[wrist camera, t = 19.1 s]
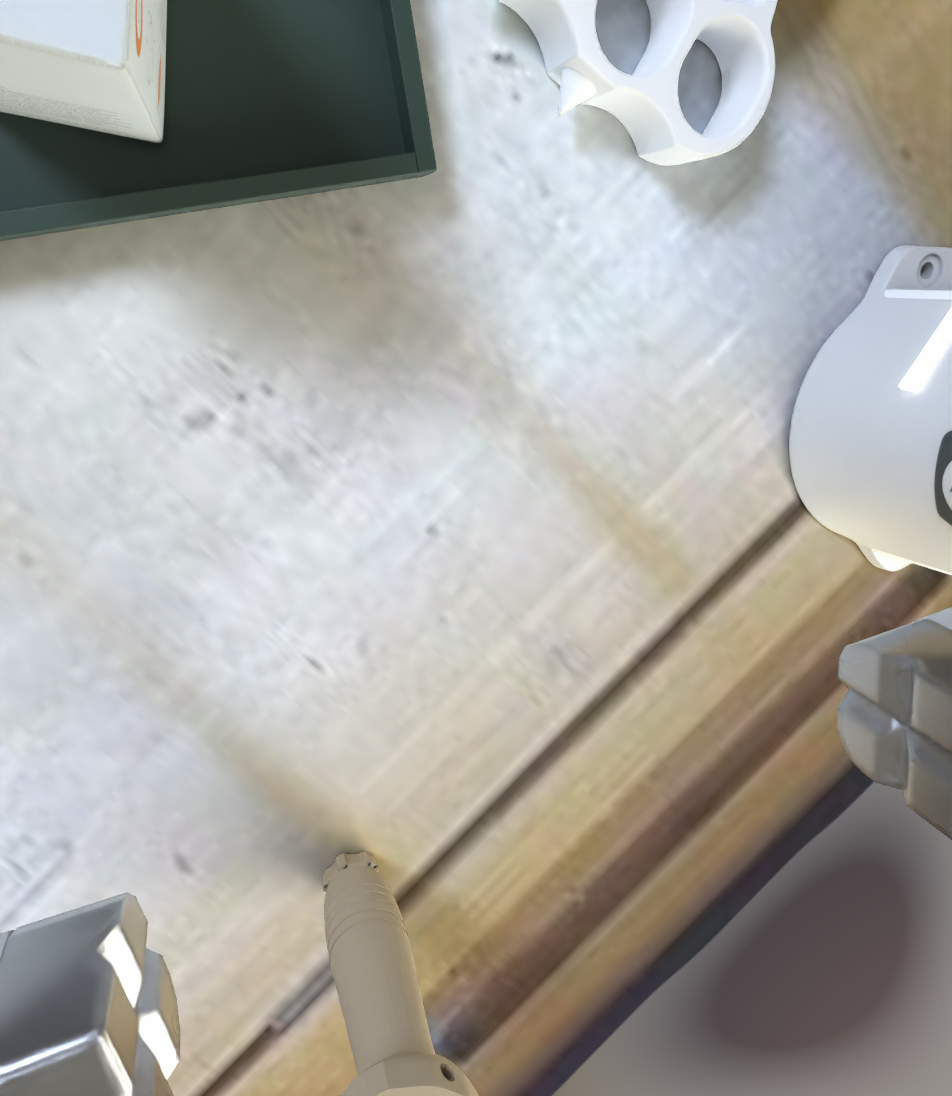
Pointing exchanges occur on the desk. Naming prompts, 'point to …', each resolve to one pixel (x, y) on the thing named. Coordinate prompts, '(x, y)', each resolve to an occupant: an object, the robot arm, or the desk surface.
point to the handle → (380, 988)
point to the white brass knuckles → (662, 70)
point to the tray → (237, 119)
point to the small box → (86, 64)
